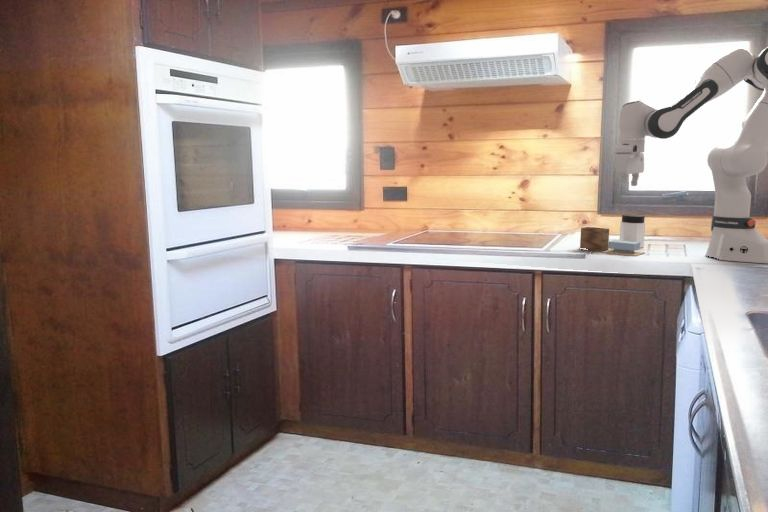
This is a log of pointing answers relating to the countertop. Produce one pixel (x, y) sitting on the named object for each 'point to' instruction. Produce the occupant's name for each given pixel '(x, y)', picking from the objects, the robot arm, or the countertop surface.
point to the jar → (632, 228)
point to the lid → (624, 246)
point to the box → (594, 239)
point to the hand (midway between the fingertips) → (629, 186)
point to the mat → (623, 253)
